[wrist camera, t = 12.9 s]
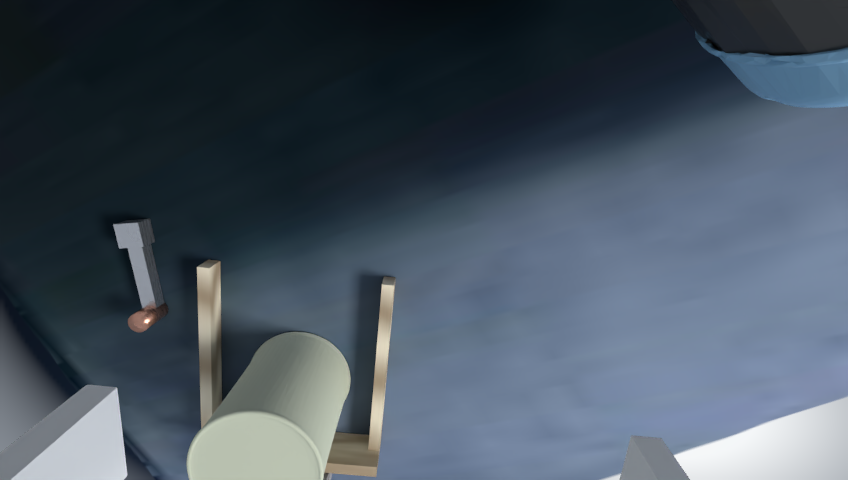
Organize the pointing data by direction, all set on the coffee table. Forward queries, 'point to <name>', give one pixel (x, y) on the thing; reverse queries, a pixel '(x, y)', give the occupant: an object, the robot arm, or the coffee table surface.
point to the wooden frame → (347, 448)
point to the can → (276, 414)
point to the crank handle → (142, 271)
